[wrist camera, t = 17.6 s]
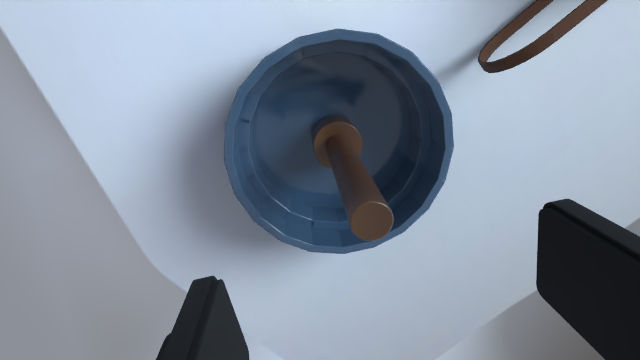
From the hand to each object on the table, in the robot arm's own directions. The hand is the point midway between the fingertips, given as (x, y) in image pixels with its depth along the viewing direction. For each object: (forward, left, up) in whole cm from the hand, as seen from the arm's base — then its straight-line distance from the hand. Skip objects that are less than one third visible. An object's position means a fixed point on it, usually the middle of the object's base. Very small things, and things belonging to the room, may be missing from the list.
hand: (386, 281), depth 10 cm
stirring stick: (0, 0, -19) cm, 19 cm away
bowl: (0, 0, -20) cm, 20 cm away
